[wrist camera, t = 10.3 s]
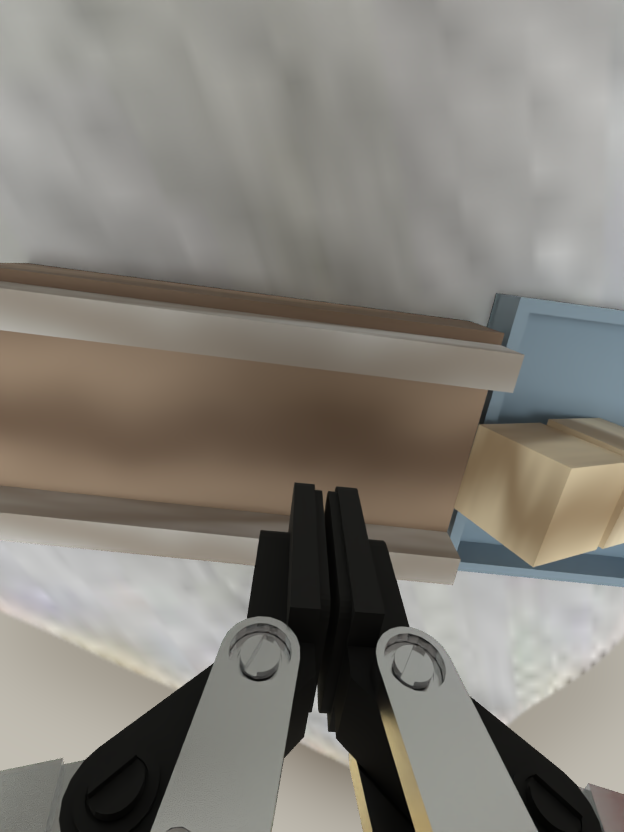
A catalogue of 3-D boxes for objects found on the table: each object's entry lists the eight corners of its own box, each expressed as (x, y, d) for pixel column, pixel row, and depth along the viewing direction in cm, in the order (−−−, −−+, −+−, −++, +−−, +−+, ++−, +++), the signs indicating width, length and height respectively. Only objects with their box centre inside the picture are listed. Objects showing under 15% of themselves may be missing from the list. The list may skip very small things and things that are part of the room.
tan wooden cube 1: (478, 424, 18) (571, 468, 15) (540, 422, 20) (635, 461, 17) (453, 507, 20) (532, 567, 16) (513, 498, 22) (596, 549, 18)
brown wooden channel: (27, 263, 20) (-87, 262, 14) (469, 321, 21) (528, 341, 15) (51, 480, 24) (-30, 546, 18) (418, 518, 25) (450, 593, 19)
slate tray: (496, 293, 20) (521, 296, 18) (741, 326, 21) (796, 333, 18) (428, 540, 25) (440, 568, 23) (626, 561, 26) (657, 590, 24)
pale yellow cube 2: (646, 460, 16) (697, 454, 18) (548, 419, 20) (599, 418, 22) (602, 549, 18) (653, 534, 20) (518, 495, 22) (568, 487, 24)
